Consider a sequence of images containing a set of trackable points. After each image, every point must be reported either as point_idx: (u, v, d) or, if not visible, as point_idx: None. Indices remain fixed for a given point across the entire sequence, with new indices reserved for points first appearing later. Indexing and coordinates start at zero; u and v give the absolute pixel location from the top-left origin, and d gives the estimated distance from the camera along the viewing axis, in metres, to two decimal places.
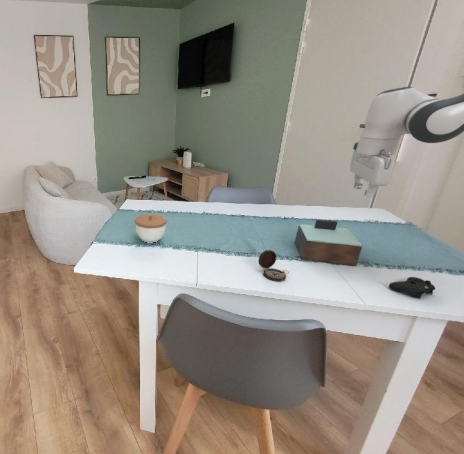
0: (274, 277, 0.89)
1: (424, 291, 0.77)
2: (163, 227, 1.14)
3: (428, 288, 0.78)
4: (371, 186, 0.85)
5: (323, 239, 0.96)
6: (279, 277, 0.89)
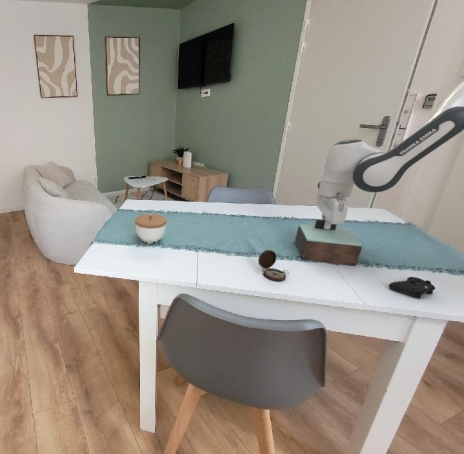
0: (274, 277, 0.89)
1: (424, 291, 0.77)
2: (163, 227, 1.14)
3: (428, 288, 0.78)
4: (327, 220, 1.00)
5: (323, 239, 0.96)
6: (279, 277, 0.89)
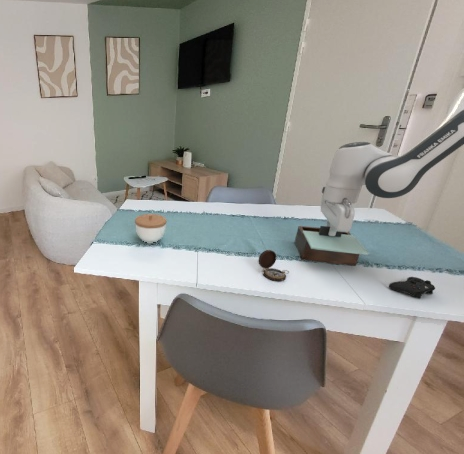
0: (274, 277, 0.89)
1: (424, 291, 0.77)
2: (163, 227, 1.14)
3: (428, 288, 0.78)
4: (332, 227, 0.95)
5: (328, 247, 0.91)
6: (279, 277, 0.89)
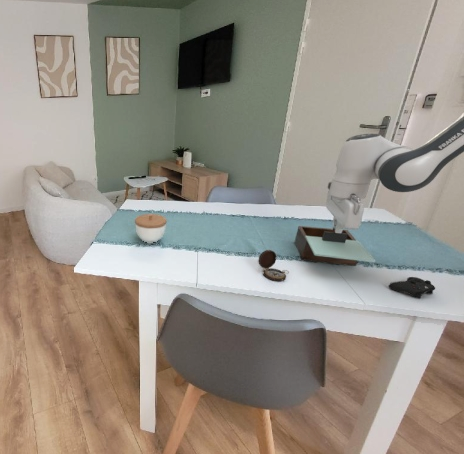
0: (274, 277, 0.89)
1: (424, 291, 0.77)
2: (163, 227, 1.14)
3: (428, 288, 0.78)
4: (339, 223, 0.90)
5: (332, 254, 0.87)
6: (279, 277, 0.89)
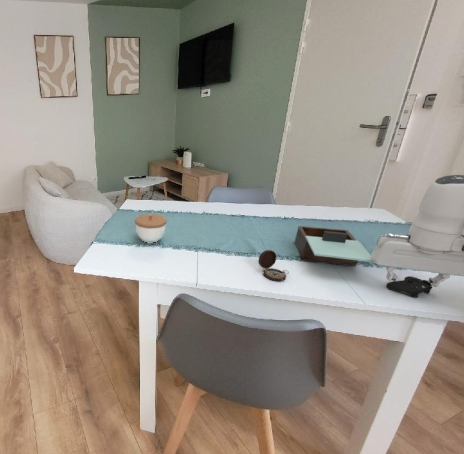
0: (274, 277, 0.89)
1: (421, 290, 0.78)
2: (163, 227, 1.14)
3: (425, 288, 0.79)
4: (386, 265, 0.82)
5: (332, 254, 0.87)
6: (279, 277, 0.89)
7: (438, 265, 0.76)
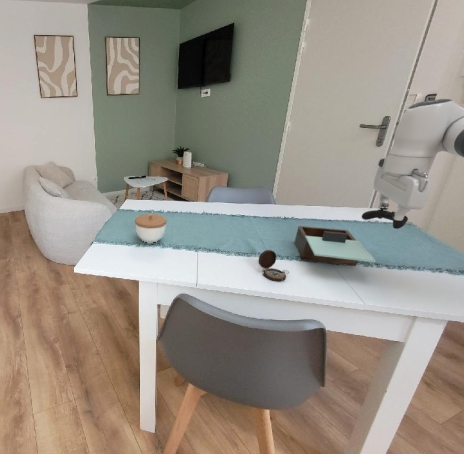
0: (274, 277, 0.89)
1: None
2: (163, 227, 1.14)
3: None
4: (401, 208, 0.77)
5: (332, 254, 0.87)
6: (279, 277, 0.89)
7: None
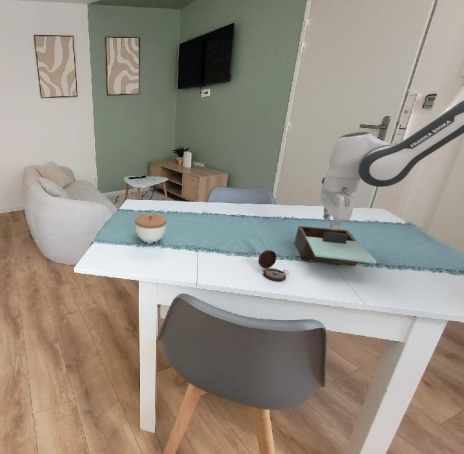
0: (274, 277, 0.89)
1: None
2: (163, 227, 1.14)
3: None
4: (335, 220, 0.93)
5: (333, 255, 0.87)
6: (279, 277, 0.89)
7: None
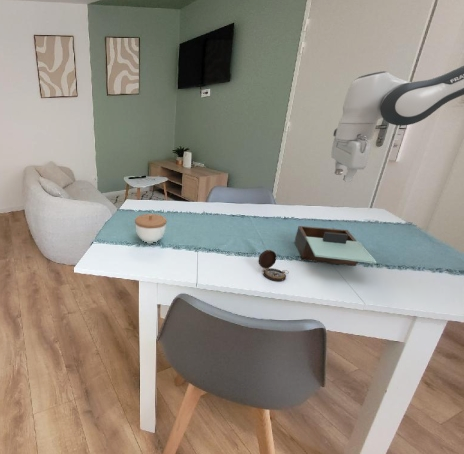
0: (274, 277, 0.89)
1: None
2: (163, 227, 1.14)
3: None
4: (349, 170, 0.87)
5: (333, 255, 0.87)
6: (279, 277, 0.89)
7: None
